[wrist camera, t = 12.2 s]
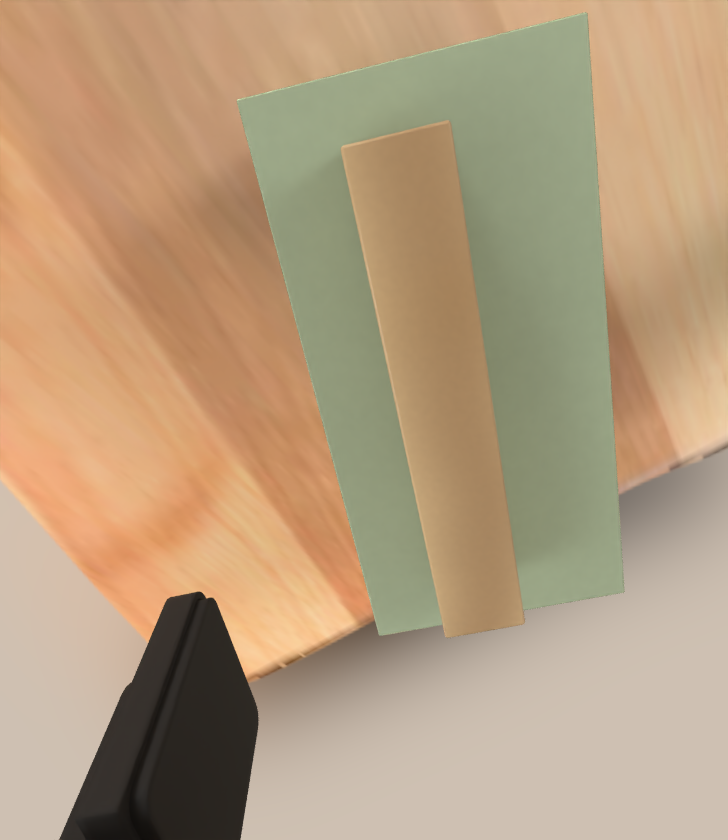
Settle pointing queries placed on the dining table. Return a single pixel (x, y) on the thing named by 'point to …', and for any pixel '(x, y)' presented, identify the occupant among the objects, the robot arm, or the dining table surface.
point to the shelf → (496, 294)
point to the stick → (437, 367)
